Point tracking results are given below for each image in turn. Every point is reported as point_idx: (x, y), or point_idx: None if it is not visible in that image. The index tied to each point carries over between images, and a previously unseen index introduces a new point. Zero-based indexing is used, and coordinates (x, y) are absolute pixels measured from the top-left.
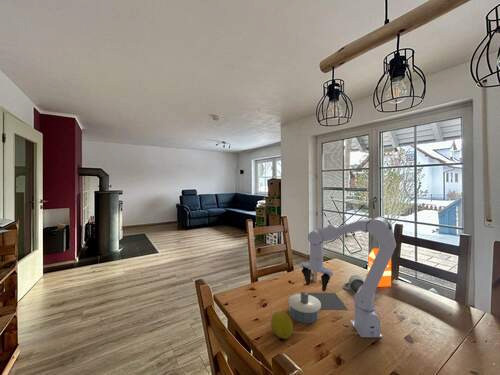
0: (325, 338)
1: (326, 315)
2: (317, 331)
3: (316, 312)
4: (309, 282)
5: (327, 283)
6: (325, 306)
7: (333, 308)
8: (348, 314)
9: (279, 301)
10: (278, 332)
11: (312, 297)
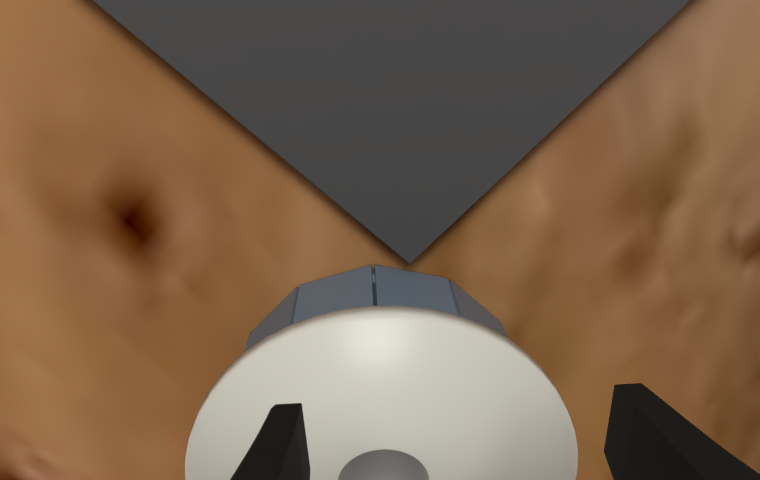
0: None
1: (546, 232)
2: None
3: None
4: (301, 458)
5: (746, 472)
6: (476, 108)
7: (575, 73)
8: (752, 22)
9: (43, 373)
10: None
11: (397, 348)
